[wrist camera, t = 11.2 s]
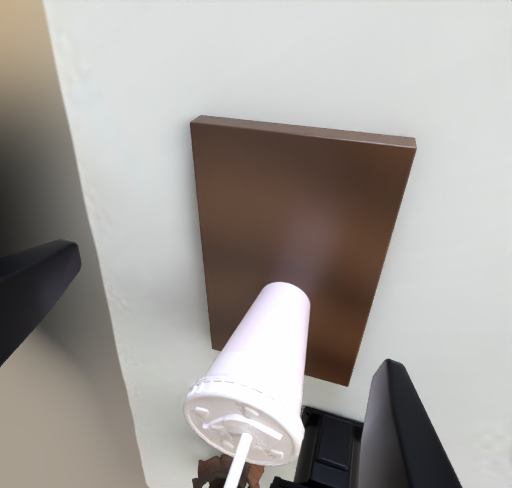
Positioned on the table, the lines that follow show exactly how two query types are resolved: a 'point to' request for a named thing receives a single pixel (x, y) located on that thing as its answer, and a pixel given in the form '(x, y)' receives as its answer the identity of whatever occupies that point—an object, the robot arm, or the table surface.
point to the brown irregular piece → (226, 473)
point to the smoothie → (256, 384)
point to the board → (297, 225)
